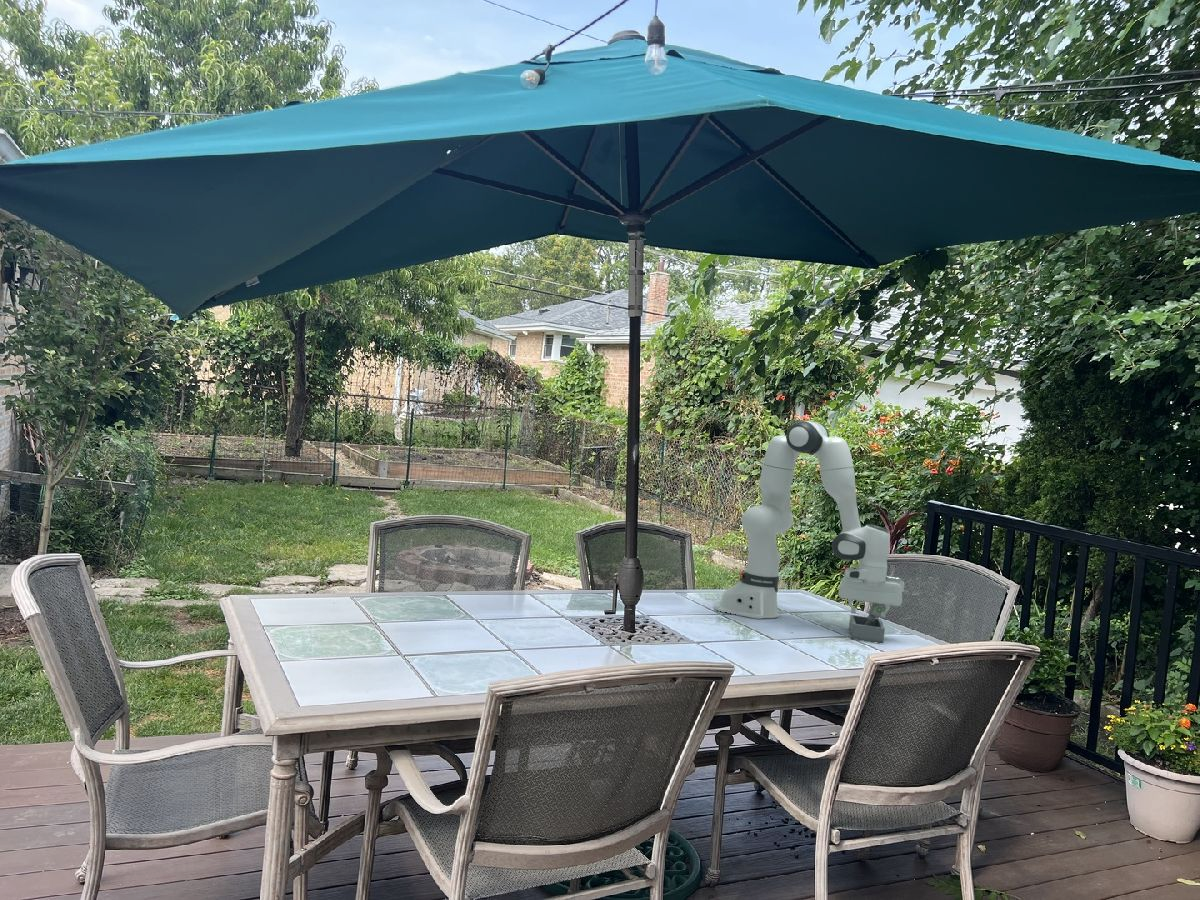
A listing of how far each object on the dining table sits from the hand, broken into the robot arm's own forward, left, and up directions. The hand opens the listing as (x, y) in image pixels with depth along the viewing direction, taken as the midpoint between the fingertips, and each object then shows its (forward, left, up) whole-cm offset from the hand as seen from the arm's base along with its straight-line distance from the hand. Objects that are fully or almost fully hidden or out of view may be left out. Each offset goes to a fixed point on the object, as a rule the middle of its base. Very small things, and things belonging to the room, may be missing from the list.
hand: (867, 615), depth 282 cm
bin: (0, 0, -7) cm, 7 cm away
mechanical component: (-1, 0, -6) cm, 6 cm away
